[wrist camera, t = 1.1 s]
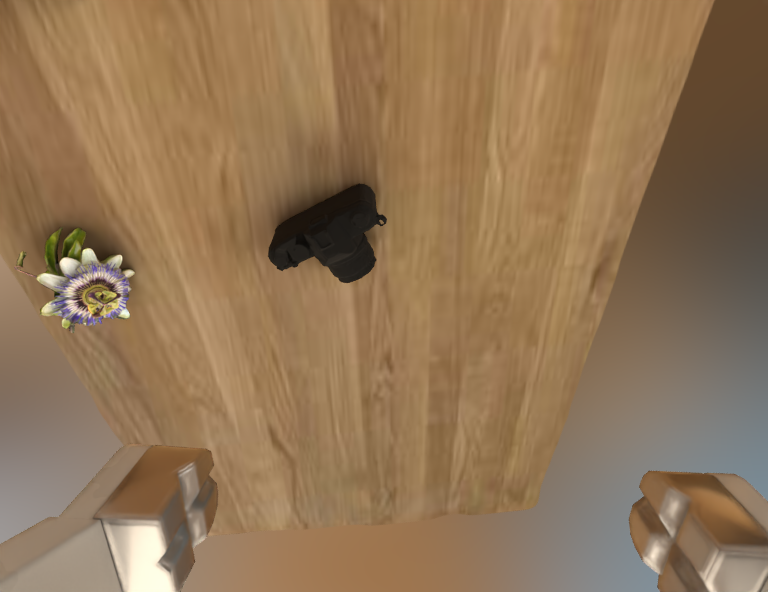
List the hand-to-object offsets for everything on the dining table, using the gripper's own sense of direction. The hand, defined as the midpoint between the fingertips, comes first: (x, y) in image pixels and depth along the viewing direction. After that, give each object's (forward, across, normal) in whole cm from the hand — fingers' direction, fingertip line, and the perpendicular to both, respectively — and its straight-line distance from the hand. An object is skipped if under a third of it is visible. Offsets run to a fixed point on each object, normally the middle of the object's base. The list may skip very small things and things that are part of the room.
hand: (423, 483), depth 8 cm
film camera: (+48, +8, +6) cm, 49 cm away
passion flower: (+47, +41, +12) cm, 63 cm away
